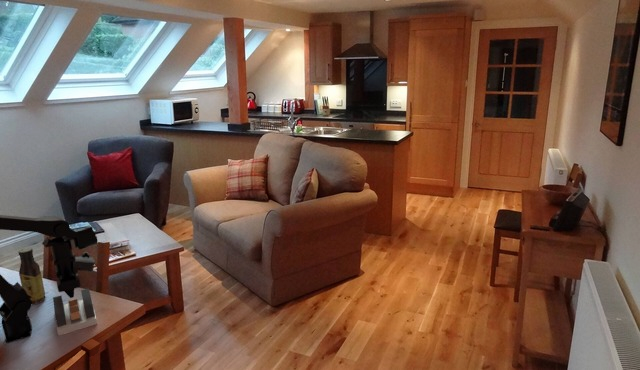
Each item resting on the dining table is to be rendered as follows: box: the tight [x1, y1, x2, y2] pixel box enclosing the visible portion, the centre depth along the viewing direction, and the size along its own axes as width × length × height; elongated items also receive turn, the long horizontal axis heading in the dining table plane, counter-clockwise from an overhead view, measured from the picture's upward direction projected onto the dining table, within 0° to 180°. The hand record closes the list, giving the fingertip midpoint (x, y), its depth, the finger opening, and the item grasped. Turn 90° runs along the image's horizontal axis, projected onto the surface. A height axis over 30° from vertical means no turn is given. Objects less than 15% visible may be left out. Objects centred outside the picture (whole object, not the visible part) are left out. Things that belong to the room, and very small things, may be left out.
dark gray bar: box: [80, 287, 96, 319], centre depth 148 cm, size 2×12×4 cm, turn 32°
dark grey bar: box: [52, 295, 66, 328], centre depth 144 cm, size 2×12×4 cm, turn 32°
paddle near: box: [70, 311, 81, 320], centre depth 143 cm, size 3×1×2 cm, turn 122°
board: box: [56, 299, 98, 336], centre depth 147 cm, size 15×11×2 cm
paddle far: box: [67, 297, 79, 307], centre depth 150 cm, size 3×1×2 cm, turn 122°
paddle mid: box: [69, 305, 79, 313], centre depth 146 cm, size 3×1×2 cm, turn 122°
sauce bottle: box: [18, 246, 46, 305], centre depth 155 cm, size 7×6×20 cm
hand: (71, 297), depth 149 cm, fingers closed
